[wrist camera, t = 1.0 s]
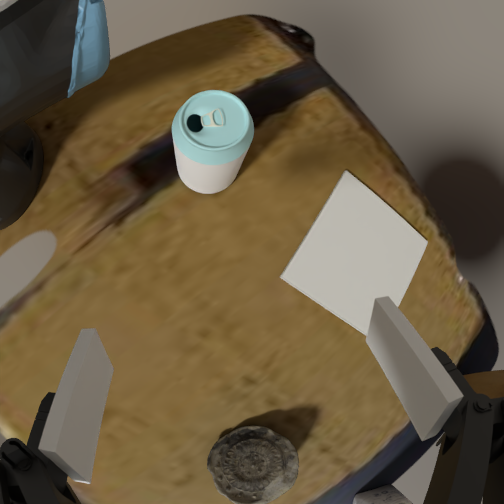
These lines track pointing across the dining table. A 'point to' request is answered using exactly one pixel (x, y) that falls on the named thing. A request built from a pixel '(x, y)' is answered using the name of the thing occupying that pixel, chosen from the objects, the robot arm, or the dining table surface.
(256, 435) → the fossil
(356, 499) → the juice carton
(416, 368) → the robot arm
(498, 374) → the plant pot
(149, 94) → the dining table surface
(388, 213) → the white mat
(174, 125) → the can
